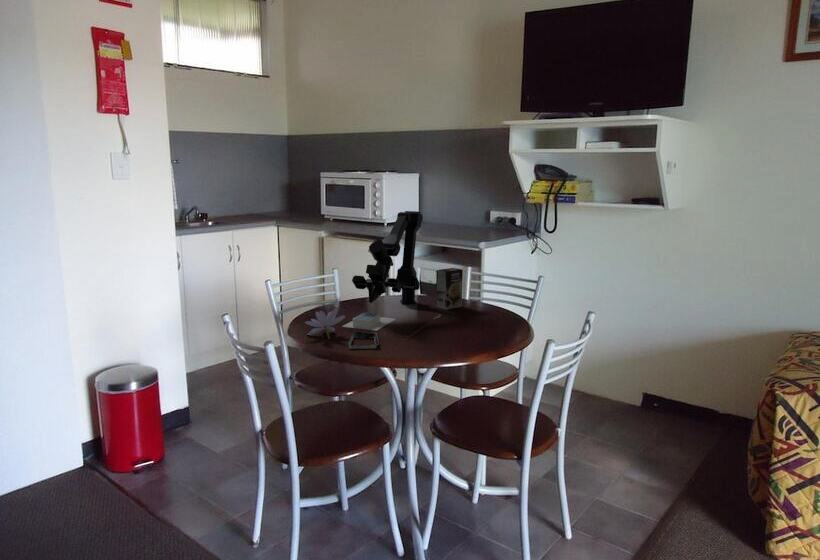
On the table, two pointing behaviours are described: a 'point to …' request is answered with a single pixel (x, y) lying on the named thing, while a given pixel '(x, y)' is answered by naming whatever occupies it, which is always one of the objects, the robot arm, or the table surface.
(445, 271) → the coffee box
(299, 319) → the table surface
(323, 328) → the water lily
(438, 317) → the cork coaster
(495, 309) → the table surface
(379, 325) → the mat
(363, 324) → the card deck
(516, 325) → the table surface
